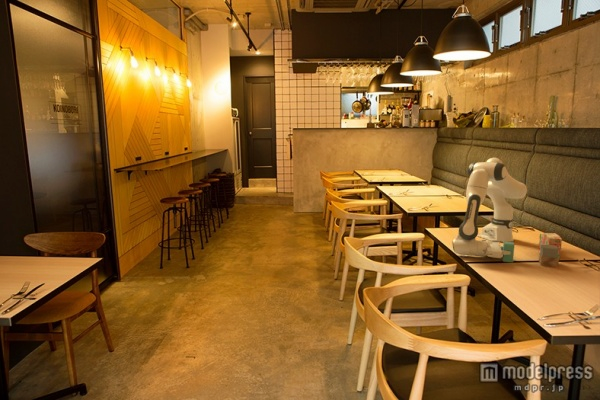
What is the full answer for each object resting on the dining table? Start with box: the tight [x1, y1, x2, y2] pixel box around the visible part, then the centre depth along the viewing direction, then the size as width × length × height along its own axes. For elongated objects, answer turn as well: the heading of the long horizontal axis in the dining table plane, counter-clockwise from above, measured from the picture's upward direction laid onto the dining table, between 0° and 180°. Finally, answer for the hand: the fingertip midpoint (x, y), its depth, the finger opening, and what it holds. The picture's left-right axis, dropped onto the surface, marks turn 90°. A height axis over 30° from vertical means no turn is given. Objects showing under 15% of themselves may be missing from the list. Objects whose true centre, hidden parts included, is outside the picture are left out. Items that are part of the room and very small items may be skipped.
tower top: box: [539, 245, 558, 258], centre depth 225 cm, size 7×7×5 cm
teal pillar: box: [501, 241, 515, 263], centre depth 232 cm, size 5×5×10 cm
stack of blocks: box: [538, 232, 563, 261], centre depth 243 cm, size 21×6×12 cm, turn 162°
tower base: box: [538, 252, 560, 268], centre depth 225 cm, size 8×8×5 cm
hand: (510, 251), depth 231 cm, fingers closed on teal pillar, 5 cm apart
